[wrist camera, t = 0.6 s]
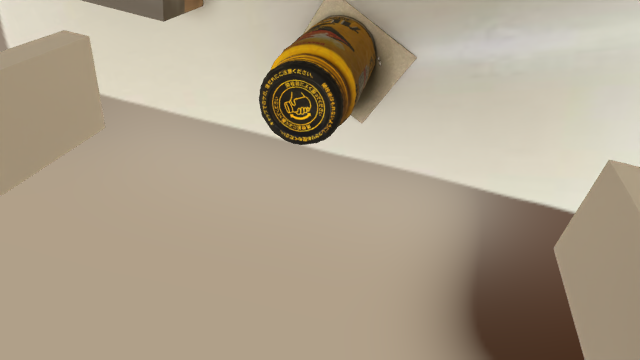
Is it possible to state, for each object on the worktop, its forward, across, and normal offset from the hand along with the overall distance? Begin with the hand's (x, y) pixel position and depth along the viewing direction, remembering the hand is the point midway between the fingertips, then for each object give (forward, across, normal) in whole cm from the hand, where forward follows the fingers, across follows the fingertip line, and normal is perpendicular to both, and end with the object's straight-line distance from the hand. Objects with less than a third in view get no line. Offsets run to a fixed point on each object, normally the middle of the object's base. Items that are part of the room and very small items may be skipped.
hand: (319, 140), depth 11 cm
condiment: (+25, -3, -6) cm, 26 cm away
